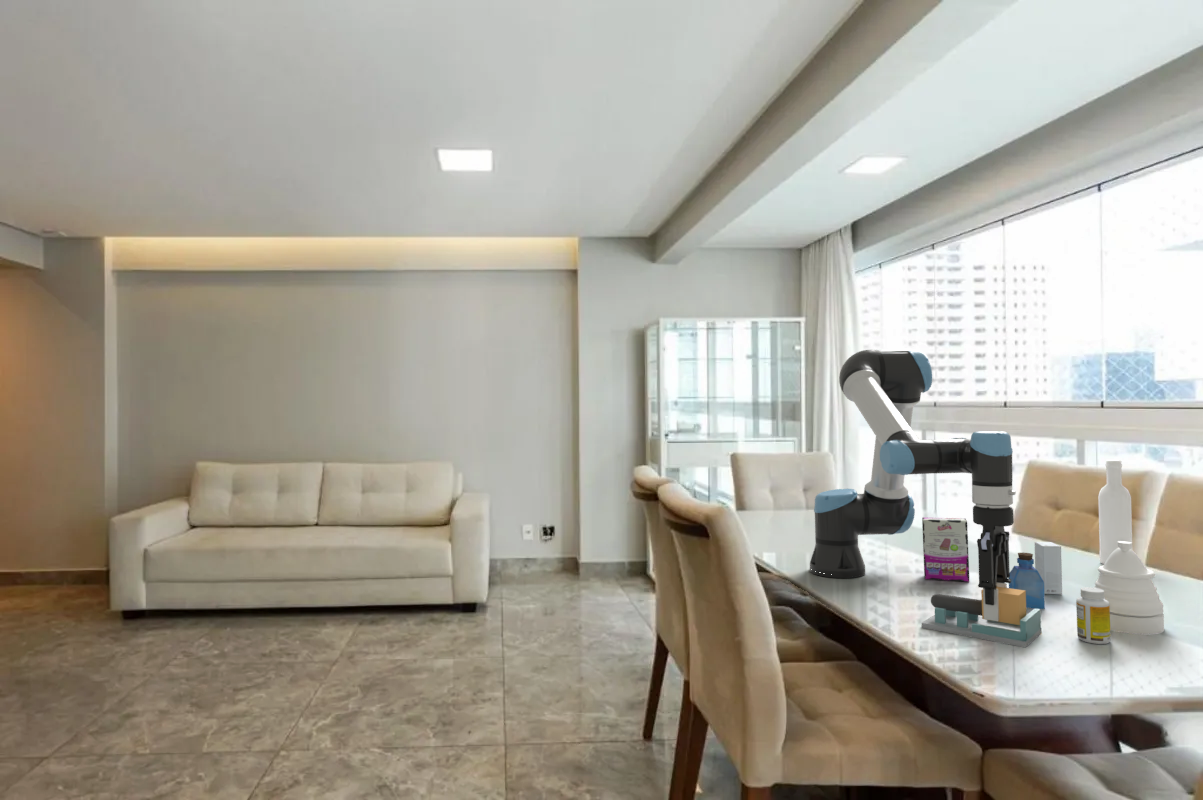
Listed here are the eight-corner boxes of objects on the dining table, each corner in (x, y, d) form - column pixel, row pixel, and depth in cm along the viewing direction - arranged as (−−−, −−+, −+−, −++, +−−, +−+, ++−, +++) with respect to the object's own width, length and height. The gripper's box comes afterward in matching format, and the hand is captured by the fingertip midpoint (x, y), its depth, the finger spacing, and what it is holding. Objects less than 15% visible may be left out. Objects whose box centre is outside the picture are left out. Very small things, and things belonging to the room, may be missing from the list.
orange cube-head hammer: (927, 609, 161) (926, 582, 161) (935, 604, 164) (934, 578, 164) (1019, 625, 148) (1018, 595, 148) (1026, 619, 152) (1025, 590, 152)
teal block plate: (921, 627, 158) (920, 604, 158) (941, 615, 167) (941, 593, 167) (1025, 647, 144) (1024, 621, 144) (1041, 632, 153) (1041, 608, 153)
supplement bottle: (1116, 641, 146) (1114, 590, 146) (1102, 647, 143) (1101, 594, 143) (1085, 634, 151) (1084, 584, 151) (1071, 639, 148) (1070, 588, 148)
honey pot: (1167, 638, 148) (1165, 548, 148) (1091, 629, 155) (1089, 543, 155) (1160, 621, 159) (1158, 538, 159) (1089, 613, 166) (1087, 533, 166)
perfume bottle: (1038, 602, 175) (1037, 551, 175) (1044, 609, 170) (1043, 557, 170) (1009, 600, 177) (1007, 550, 177) (1014, 607, 172) (1013, 556, 172)
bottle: (1132, 562, 213) (1129, 459, 213) (1134, 568, 206) (1131, 461, 206) (1099, 560, 217) (1096, 458, 217) (1100, 565, 211) (1097, 460, 211)
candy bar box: (968, 578, 200) (966, 517, 200) (969, 582, 195) (968, 520, 195) (923, 575, 204) (921, 516, 204) (923, 579, 199) (922, 519, 199)
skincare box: (1063, 594, 181) (1061, 546, 181) (1044, 594, 182) (1042, 546, 182) (1053, 588, 187) (1051, 541, 187) (1034, 588, 188) (1033, 541, 188)
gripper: (999, 512, 144) (1002, 630, 144) (1024, 501, 157) (1027, 610, 157) (958, 508, 150) (962, 623, 149) (986, 499, 163) (989, 604, 162)
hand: (995, 616), depth 153 cm, fingers closed on orange cube-head hammer, 5 cm apart
